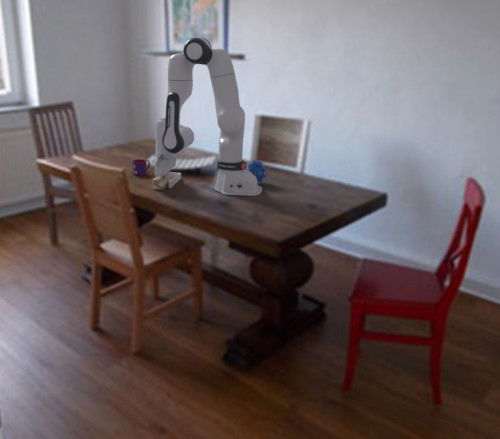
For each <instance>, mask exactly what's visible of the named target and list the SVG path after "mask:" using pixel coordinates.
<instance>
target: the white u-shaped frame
mask: <svg viewBox="0 0 500 439" xmlns="http://www.w3.org/2000/svg"><path fill="white" fill-rule="evenodd" d="M168 177H169V186H168V188H169V189H171V188H173V186H175V185H176V184H177V183H178V182H180V180H181V179H182V173H181V172H173V171H169V176H168Z"/></svg>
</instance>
